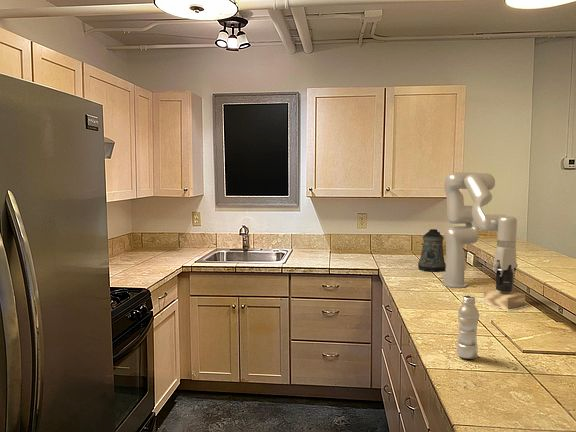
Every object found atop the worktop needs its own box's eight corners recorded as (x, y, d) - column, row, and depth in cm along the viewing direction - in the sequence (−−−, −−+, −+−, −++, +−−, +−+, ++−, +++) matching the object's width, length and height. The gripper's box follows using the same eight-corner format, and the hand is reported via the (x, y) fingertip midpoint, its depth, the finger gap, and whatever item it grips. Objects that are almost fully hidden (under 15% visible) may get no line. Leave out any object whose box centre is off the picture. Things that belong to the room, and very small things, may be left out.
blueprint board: (478, 304, 208) (478, 301, 208) (498, 299, 215) (498, 297, 215) (510, 313, 194) (510, 310, 194) (530, 308, 201) (530, 306, 201)
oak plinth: (483, 302, 207) (484, 291, 206) (500, 299, 212) (501, 288, 212) (507, 309, 196) (508, 298, 196) (524, 305, 202) (525, 294, 202)
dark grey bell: (418, 271, 277) (419, 231, 275) (417, 265, 296) (418, 227, 294) (447, 273, 273) (448, 231, 271) (443, 266, 292) (445, 228, 290)
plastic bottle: (472, 353, 151) (474, 294, 149) (481, 361, 144) (483, 299, 142) (452, 353, 151) (454, 294, 149) (461, 361, 144) (463, 300, 142)
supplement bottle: (503, 292, 200) (504, 265, 199) (492, 289, 206) (493, 262, 205) (516, 291, 202) (517, 265, 200) (505, 287, 208) (506, 262, 207)
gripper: (511, 241, 209) (509, 279, 211) (486, 244, 201) (484, 284, 203) (526, 243, 203) (524, 283, 205) (501, 247, 195) (499, 288, 196)
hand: (504, 283), depth 204 cm, fingers closed on supplement bottle, 6 cm apart
